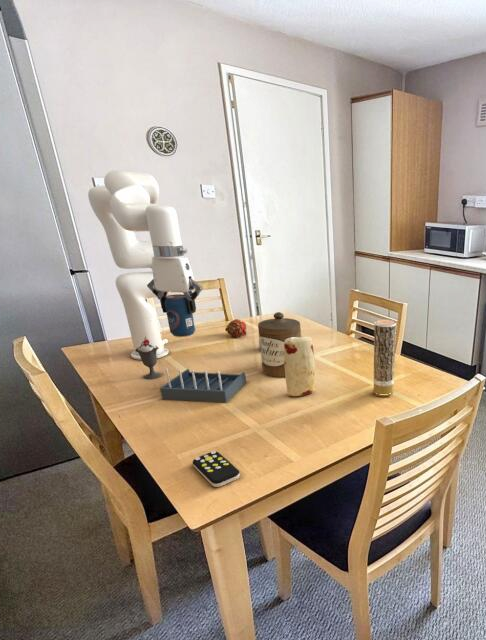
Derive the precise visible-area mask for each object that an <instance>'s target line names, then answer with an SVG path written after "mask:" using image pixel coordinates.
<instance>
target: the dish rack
mask: <svg viewBox="0 0 486 640" xmlns="http://www.w3.org/2000/svg"><path fill="white" fill-rule="evenodd" d="M165 374H166V375H165V376H166V379H167V383H165V384H164V385H162V386H161V387H160V388H159V389H160V390H159V391H160V395H161V399H162V400H168V401H169V400H171V401H188V402H206V403H207V402H209V403H228V402H229V401H230V400H231V398H233V397H234V395H236V393H237V392H238V391H239V390H240V389H241V388H242V387H243V386H244V385H246V383H247V377H246V372H245V371H242V372H241V373H240V374H235V373H221V372H220V370H218V371H217V372H216V373H215V372H214V373H213V372H208V371H207V370H204V372H199V371H197V372H196V371H195V370H194V369H191V371H190V369H189V368H186V369H185V370H184V371H182V369H181V368H179V369H178V375H177V376H175V377H174V378H172V379H171V378H170V373H169V369H168V368H165Z"/></svg>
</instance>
